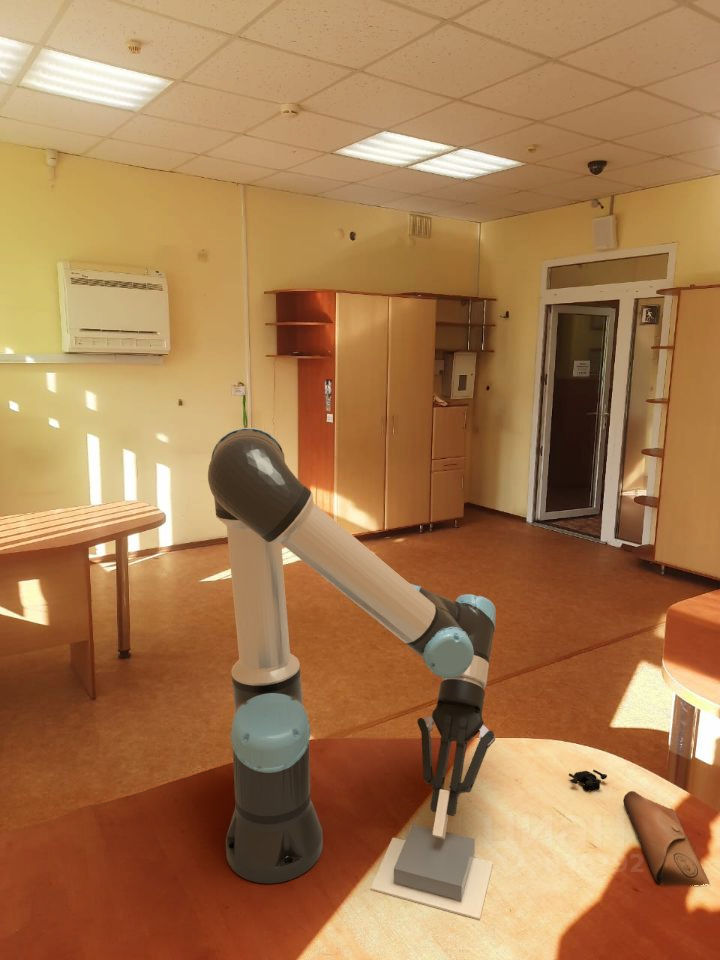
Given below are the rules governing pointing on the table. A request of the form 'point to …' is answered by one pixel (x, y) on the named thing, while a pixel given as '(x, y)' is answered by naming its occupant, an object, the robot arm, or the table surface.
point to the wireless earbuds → (588, 779)
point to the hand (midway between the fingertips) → (438, 836)
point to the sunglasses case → (664, 842)
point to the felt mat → (466, 907)
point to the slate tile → (435, 862)
